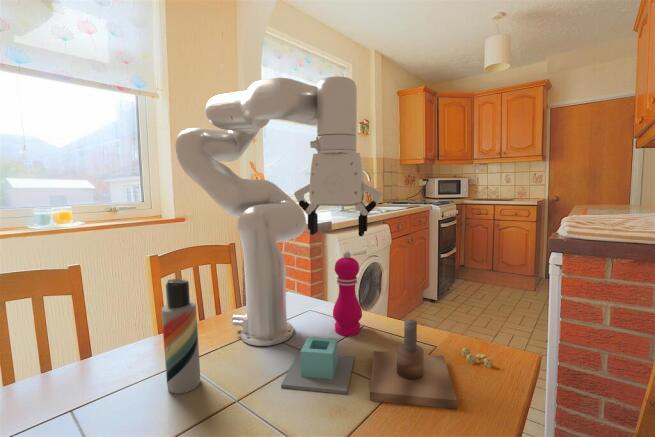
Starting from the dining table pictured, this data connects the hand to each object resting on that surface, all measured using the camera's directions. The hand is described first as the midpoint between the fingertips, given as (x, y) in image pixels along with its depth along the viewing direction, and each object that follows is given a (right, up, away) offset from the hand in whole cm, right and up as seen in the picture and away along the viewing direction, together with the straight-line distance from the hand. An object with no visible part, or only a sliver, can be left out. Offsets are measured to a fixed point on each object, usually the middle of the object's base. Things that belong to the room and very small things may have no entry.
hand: (337, 234), depth 67 cm
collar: (-3, -26, -1) cm, 26 cm away
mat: (-3, -27, -1) cm, 27 cm away
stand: (+13, -27, -4) cm, 30 cm away
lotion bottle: (-28, -28, -5) cm, 40 cm away
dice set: (+28, -27, +2) cm, 39 cm away
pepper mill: (+3, -25, +17) cm, 30 cm away
